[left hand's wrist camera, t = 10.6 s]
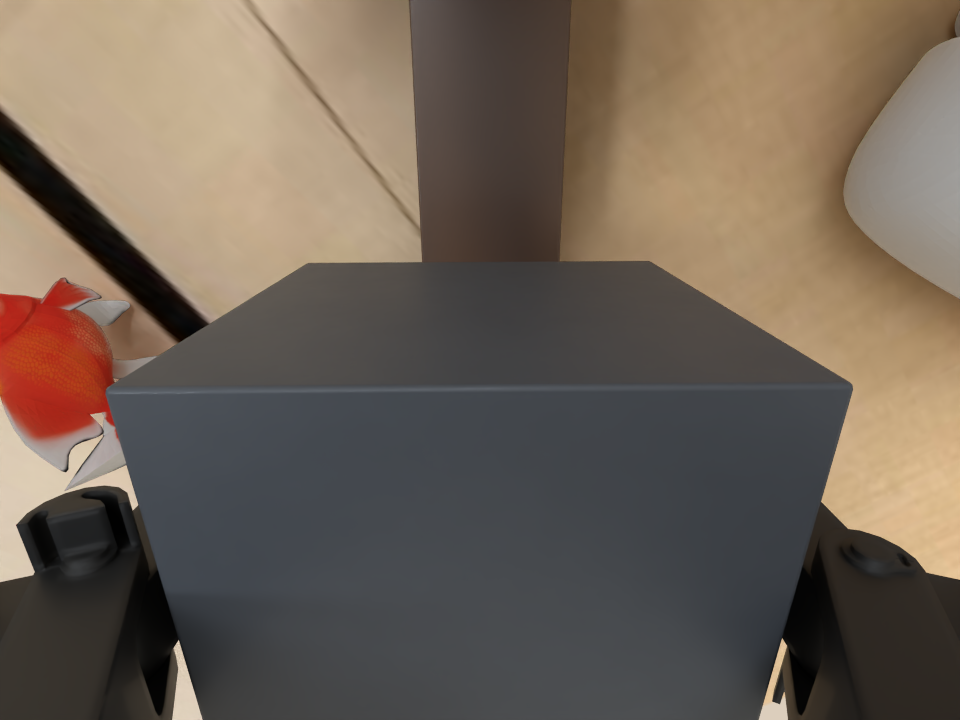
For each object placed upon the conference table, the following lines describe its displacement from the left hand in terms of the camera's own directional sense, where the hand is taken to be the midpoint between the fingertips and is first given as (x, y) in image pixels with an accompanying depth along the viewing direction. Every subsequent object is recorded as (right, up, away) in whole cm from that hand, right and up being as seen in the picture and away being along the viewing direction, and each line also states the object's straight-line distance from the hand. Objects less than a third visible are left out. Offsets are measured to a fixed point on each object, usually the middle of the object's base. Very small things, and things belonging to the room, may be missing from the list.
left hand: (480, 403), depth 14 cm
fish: (-19, +1, +17) cm, 25 cm away
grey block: (0, 0, -1) cm, 1 cm away
